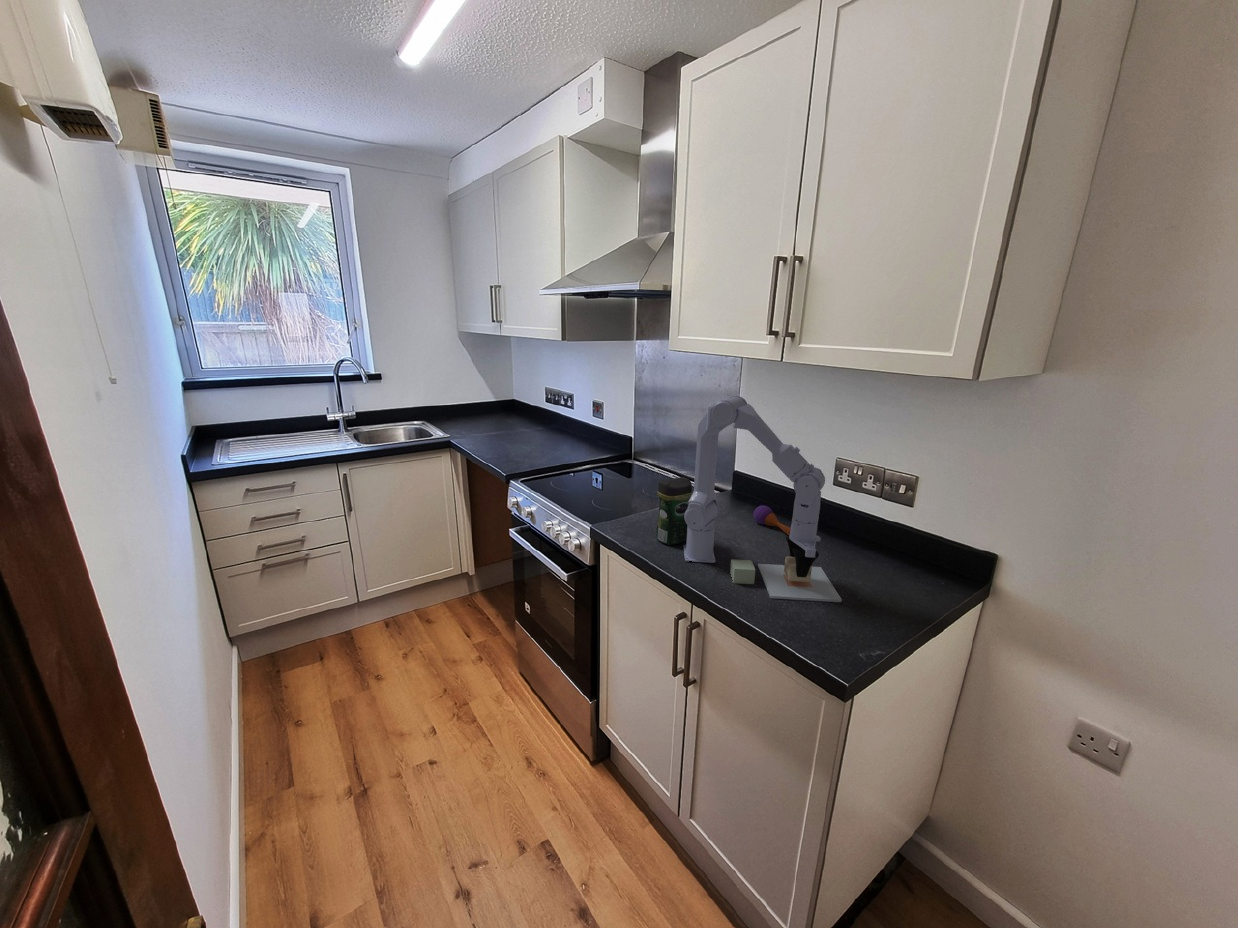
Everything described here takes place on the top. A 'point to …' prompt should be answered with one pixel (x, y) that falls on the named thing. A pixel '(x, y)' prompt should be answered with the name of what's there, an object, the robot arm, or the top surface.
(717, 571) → the top surface
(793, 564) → the beech block
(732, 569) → the sage block
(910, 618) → the top surface
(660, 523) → the coffee jar
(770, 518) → the maraca
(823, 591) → the baseplate
